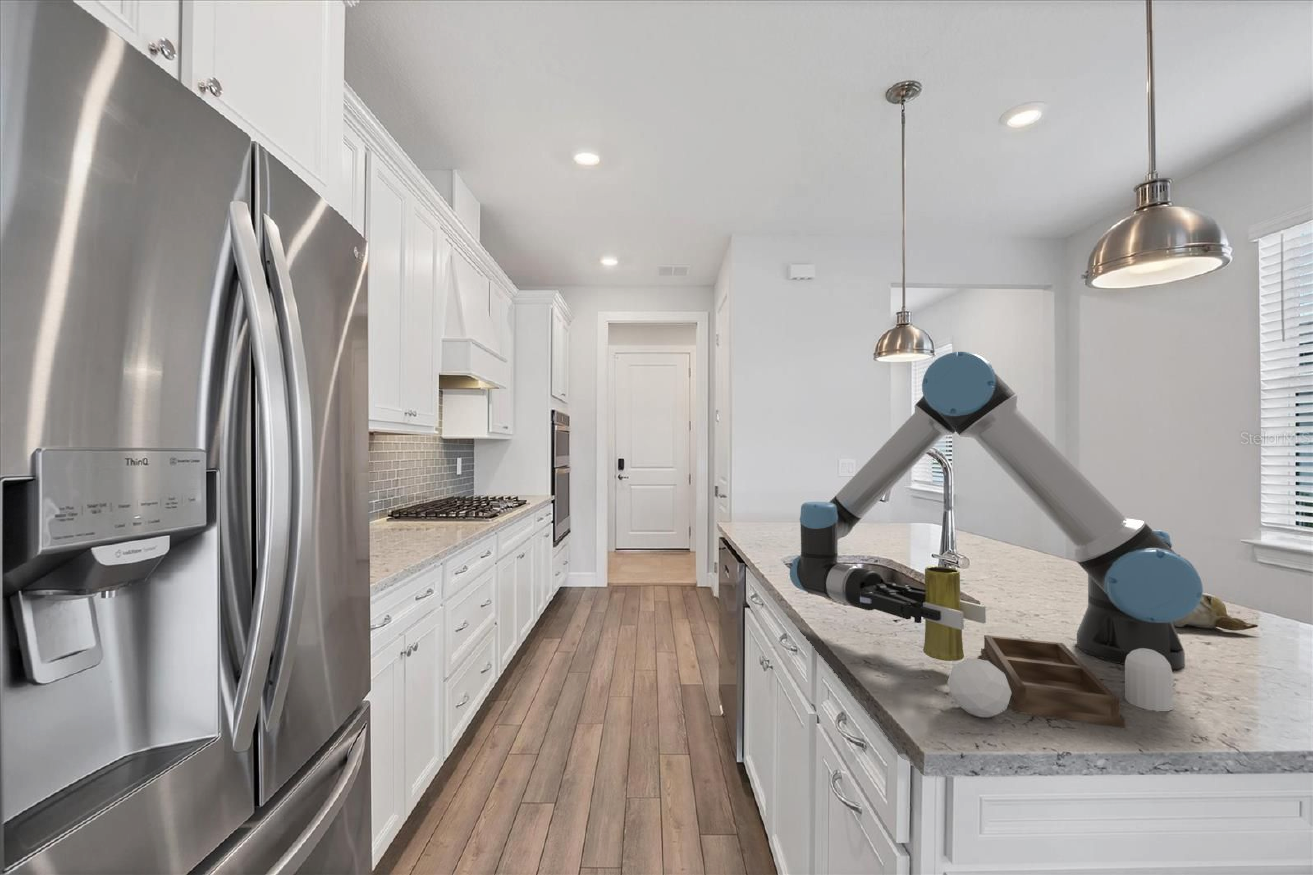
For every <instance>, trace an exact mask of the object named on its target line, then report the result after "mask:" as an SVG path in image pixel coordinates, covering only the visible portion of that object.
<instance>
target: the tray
mask: <svg viewBox="0 0 1313 875" xmlns="http://www.w3.org/2000/svg"><path fill="white" fill-rule="evenodd" d="M983 637H984V638H983V640H984V642H983V644H984V645H983V646H984V647H983V648H981V649H980V655H981V658H982V660H987V661H989V662H990V663H992V664H993V665H994V666H995V667H997V668H998V669H999V670H1000V671H1002V672H1003V673H1004V674H1005V676H1006V678H1007V681H1008V684H1009V687H1010V689H1011V692H1012V694H1011V697H1010V700H1009V703H1008V705H1009V706H1010V707H1011V710H1012V712H1014V713H1021V714H1028V715H1034V716H1035V715H1036V716H1042V717H1049V718H1056V719H1057V718H1058V719H1063V720H1070V721H1076V722H1083V723H1084V722H1085V723H1091V724H1098V725H1106V726H1113V727H1117V728H1125V725H1126V724H1125V717H1124V716H1123V715H1122V714H1121V700H1120V698H1119V697H1118V696H1117V695H1116V694H1115V693H1114V692H1113V691H1112V690H1111V689H1110V688H1109V687H1108V686H1107V685H1106V684H1105V683H1104V682H1102V680H1101V679H1100V678H1098V676H1096V675H1095V673H1093V671H1091V669H1089V667H1088V666H1087V665H1085V664H1084V663H1083V661H1081V660H1080V659H1079V657H1077V656H1076V655H1075V653H1073V651H1071V650H1070V649H1069V648H1068V647H1067V646H1066V645H1065V644H1064V643H1063V642H1055V641H1046V640H1036V639H1035V640H1034V639H1027V638H1018V637H1008V636H997V635H987V634H984V636H983Z"/></svg>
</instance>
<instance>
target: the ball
mask: <svg viewBox="0 0 1313 875" xmlns="http://www.w3.org/2000/svg"><path fill="white" fill-rule="evenodd" d="M946 683H947V685H948V686H947V687H948V688H949V691H950V694H951V698H952V700H953V701H954V702H955V703H956V705H958V706H959V707H960V708H961V709H963V710H964V711H965V712H966V713H967V714H969V715H972V716H976V717H978V718H989V719H990V718H991V717H994V716H997V715H999V714H1001V713H1002V712H1004V711H1006V710H1007V708H1008V705H1009V700H1010V697H1011V694H1012V692H1011V689H1010V687H1009V684H1008V681H1007V678H1006V676H1005V674H1004V673H1003V672H1002V671H1000V670H999V669H998V668H997V667H995V666H994V665H993V664H992V663H990V662H989V661H987V660H984V659H979V658H973V657H967V658H965V659H963V660H962V661H961V660H960V662H958V663H956V664H954V665H952V668H951V671H950V673H949V676H948V679H947V682H946Z"/></svg>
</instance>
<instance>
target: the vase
mask: <svg viewBox="0 0 1313 875" xmlns="http://www.w3.org/2000/svg"><path fill="white" fill-rule="evenodd" d="M960 578H961V572H960V570H958V569H956V568H953V567H947V566H927V567H925V568H924V588H925V602H927V603H931V604H935V605H939V606H943V607H947V608H950V609H954V610H958V611H961V605H960V600H961V579H960ZM924 620H925V619H924ZM924 628H925V630H924V643H923V653H924V654H925V656H928V657H930V658H931V659H935V660H939V661H947V662H955V661H961V660H962V659H963V660H964V658H965V652H964V647H963V646H964V645H963V631H962V630H963V629H962V630H960V629H956V628H953V627H949V626H946V625H942V624H939V623H935V622H932V621H929V620H925V625H924Z"/></svg>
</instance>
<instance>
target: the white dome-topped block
mask: <svg viewBox="0 0 1313 875" xmlns="http://www.w3.org/2000/svg"><path fill="white" fill-rule="evenodd" d="M1173 679H1174V678H1173V669H1171V665H1170V663H1169V662H1168V661H1167V659H1166V658H1165V657H1164V656H1163V655H1161V654H1159V653H1158V652H1156V651H1154V650H1151V649H1146V648H1140V649H1136V650H1133V651H1131V652H1130V653H1129V654H1128V655H1127V656H1126V660H1125V664H1124V698H1125V701H1127V702H1128V703H1129V704H1131V705H1133V706H1135V707H1138V708H1140V709H1144V710H1147V711H1152V710H1155V711H1154V712H1159V711H1170V710H1172V711H1173V710H1174V709H1173V705H1174V703H1173V697H1174V695H1173V691H1174V690H1173V687H1174V685H1173V684H1174V683H1173V682H1174V681H1173ZM1170 712H1171V711H1170Z"/></svg>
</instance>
